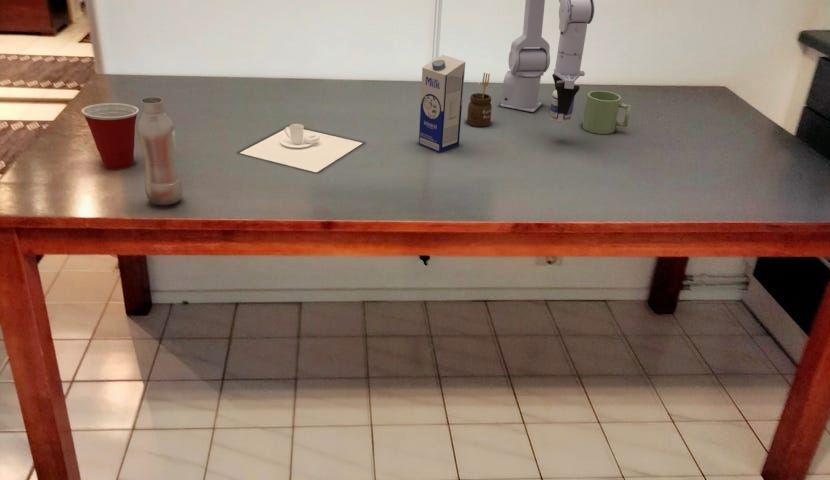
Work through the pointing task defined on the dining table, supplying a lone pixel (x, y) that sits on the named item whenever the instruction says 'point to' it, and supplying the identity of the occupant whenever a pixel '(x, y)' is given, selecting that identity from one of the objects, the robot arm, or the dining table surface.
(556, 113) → the pill bottle
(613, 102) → the mug
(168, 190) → the plastic bottle
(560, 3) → the robot arm
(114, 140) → the plastic cup
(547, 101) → the dining table surface
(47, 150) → the dining table surface
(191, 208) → the dining table surface
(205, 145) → the dining table surface
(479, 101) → the utensil holder
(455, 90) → the milk carton
